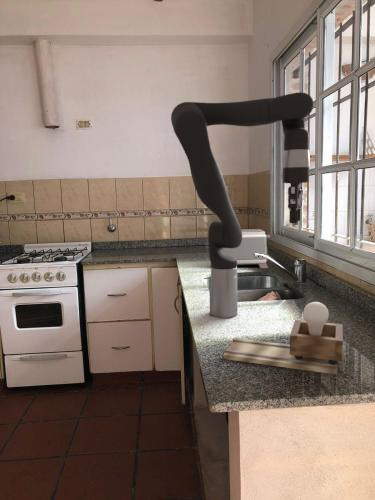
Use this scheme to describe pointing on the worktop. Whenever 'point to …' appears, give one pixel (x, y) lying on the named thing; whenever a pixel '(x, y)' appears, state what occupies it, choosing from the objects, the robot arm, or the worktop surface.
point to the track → (275, 356)
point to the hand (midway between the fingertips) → (295, 221)
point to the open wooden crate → (317, 342)
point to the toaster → (250, 248)
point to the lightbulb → (316, 317)
